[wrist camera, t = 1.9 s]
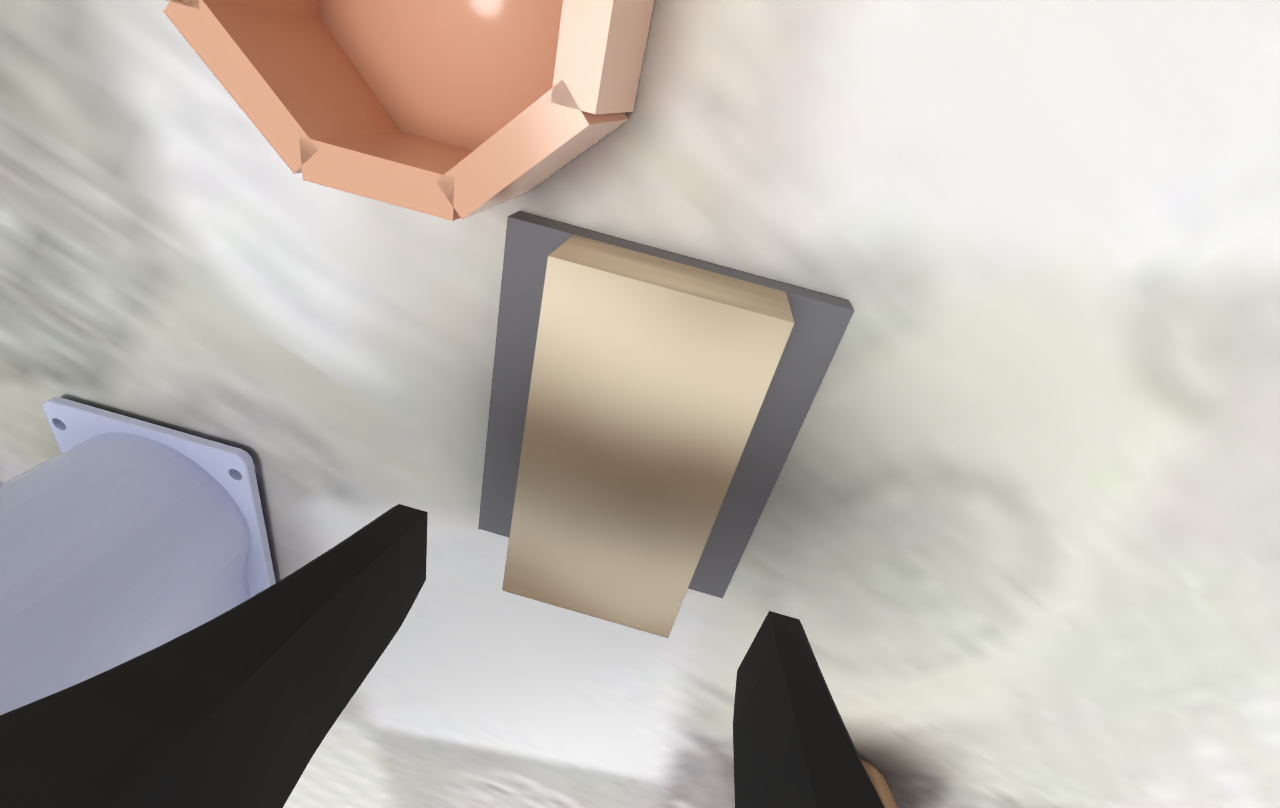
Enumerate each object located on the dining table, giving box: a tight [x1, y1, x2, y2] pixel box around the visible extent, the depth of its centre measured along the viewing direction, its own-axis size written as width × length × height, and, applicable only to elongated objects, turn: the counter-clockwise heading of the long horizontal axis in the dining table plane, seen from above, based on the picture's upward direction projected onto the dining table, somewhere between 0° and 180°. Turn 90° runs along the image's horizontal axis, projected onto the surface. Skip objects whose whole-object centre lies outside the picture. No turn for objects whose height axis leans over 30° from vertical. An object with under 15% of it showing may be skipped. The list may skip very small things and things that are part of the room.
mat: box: [478, 211, 854, 598], centre depth 17 cm, size 11×9×1 cm
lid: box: [502, 235, 794, 638], centre depth 15 cm, size 11×6×2 cm, turn 167°
